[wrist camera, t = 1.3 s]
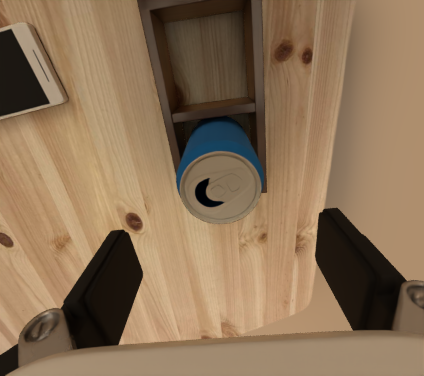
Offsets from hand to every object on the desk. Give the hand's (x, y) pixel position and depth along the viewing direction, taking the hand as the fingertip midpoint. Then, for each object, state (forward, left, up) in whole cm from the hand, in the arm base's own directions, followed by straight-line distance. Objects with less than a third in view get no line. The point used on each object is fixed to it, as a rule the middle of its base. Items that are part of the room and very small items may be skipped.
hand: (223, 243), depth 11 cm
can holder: (-4, 0, -17) cm, 18 cm away
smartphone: (-10, -23, -17) cm, 30 cm away
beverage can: (0, 0, -17) cm, 17 cm away
